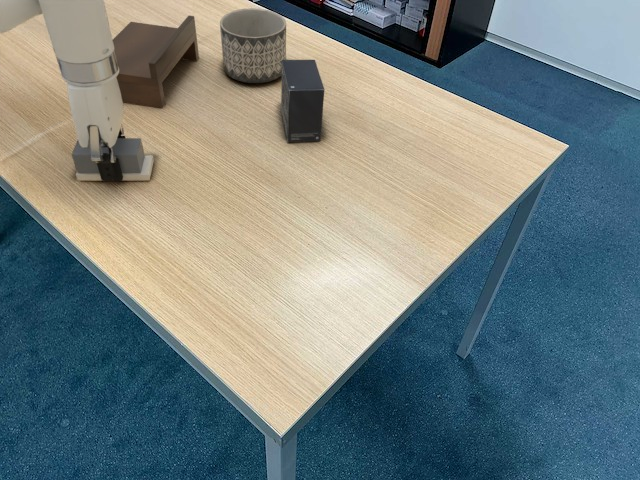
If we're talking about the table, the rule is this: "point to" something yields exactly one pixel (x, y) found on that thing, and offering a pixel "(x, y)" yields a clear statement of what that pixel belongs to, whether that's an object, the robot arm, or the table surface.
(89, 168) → the grey block on plinth
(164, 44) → the shelf
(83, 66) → the robot arm
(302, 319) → the table surface
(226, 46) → the planter
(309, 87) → the small box
